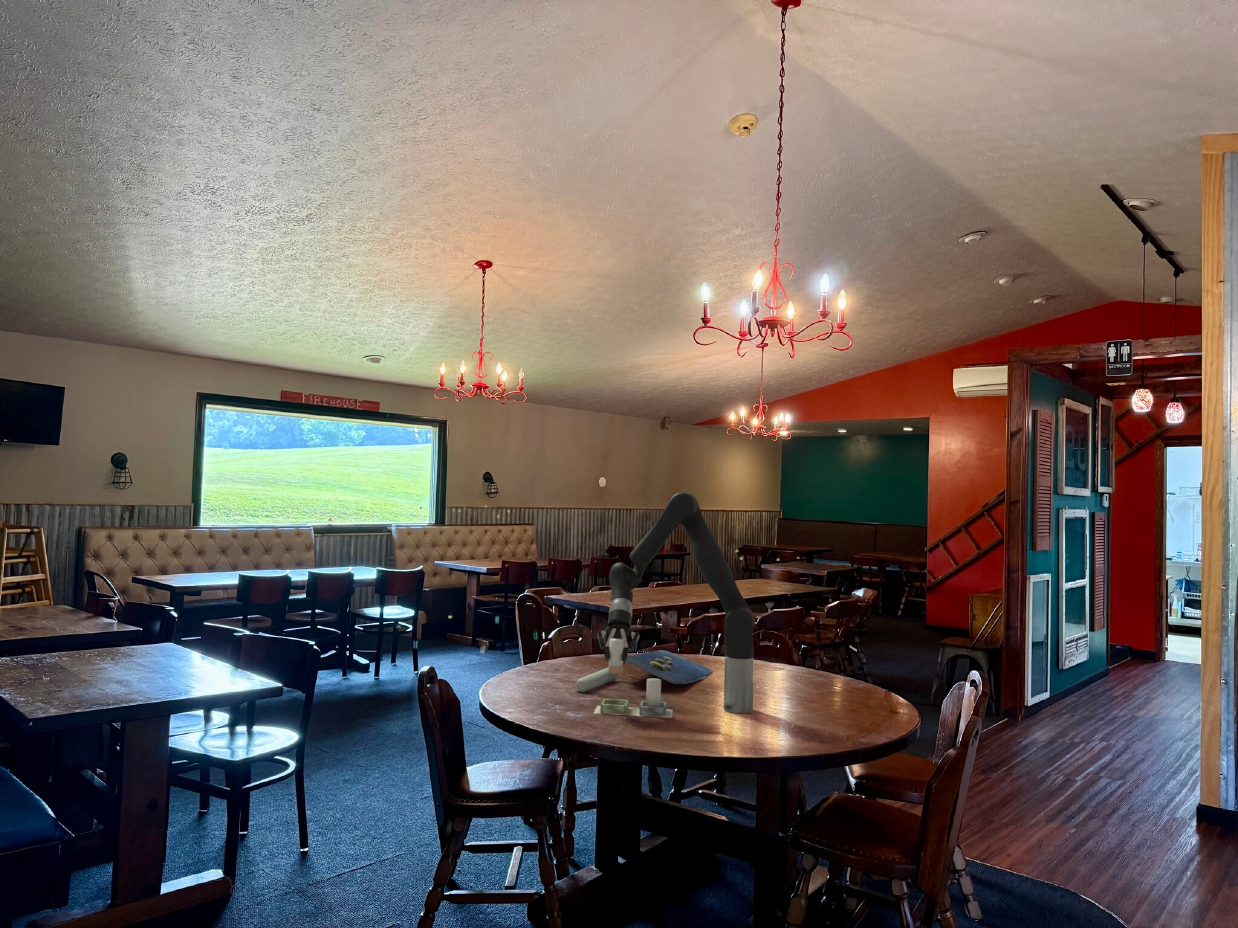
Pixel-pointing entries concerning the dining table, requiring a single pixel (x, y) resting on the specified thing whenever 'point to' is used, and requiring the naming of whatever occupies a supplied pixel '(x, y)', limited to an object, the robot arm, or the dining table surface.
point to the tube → (595, 680)
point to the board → (632, 709)
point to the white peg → (616, 655)
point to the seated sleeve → (653, 692)
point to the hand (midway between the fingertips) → (615, 659)
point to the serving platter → (669, 666)
